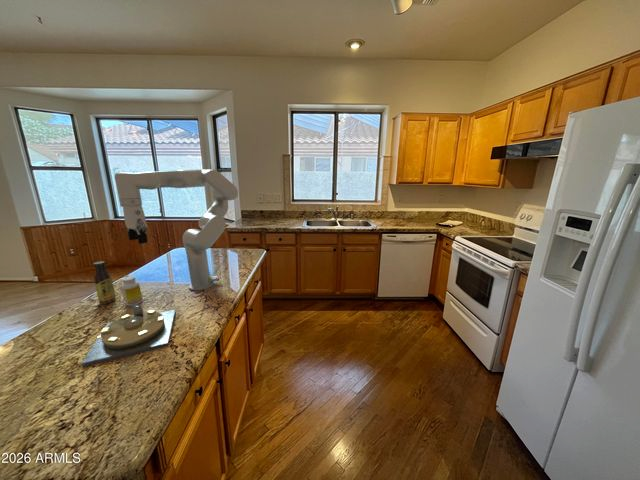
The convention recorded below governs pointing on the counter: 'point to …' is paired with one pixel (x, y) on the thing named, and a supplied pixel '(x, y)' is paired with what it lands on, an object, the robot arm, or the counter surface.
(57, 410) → the counter surface
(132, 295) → the supplement bottle
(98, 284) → the sauce bottle
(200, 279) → the robot arm
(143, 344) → the cap plate
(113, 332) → the notched gold disc
